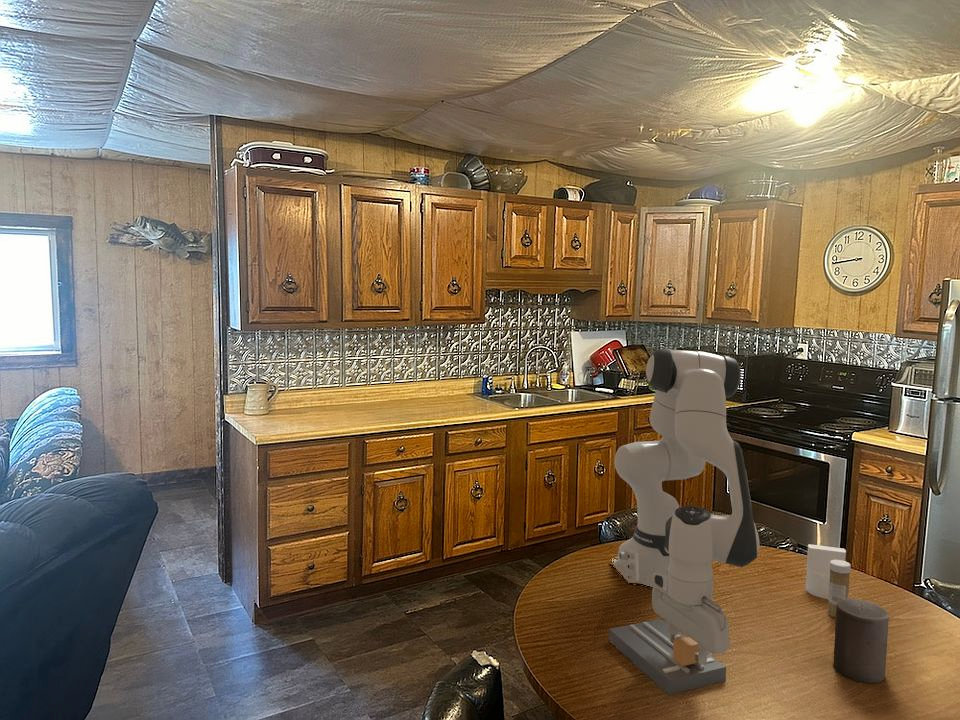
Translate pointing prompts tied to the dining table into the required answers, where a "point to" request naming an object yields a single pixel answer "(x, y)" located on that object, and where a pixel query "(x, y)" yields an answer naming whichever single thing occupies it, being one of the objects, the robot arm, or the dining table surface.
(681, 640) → the fader tab
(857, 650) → the pillar candle
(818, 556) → the base with upright slab
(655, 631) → the fader console
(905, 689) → the dining table surface
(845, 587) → the sprinkles bottle
